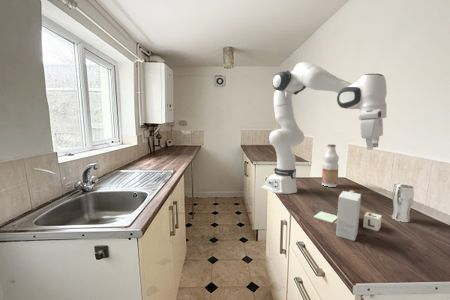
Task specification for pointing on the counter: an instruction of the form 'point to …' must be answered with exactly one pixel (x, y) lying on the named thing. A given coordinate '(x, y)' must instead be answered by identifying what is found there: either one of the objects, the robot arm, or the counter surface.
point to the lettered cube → (372, 221)
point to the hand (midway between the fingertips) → (372, 148)
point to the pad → (326, 217)
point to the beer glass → (402, 201)
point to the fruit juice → (330, 167)
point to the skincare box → (348, 215)
